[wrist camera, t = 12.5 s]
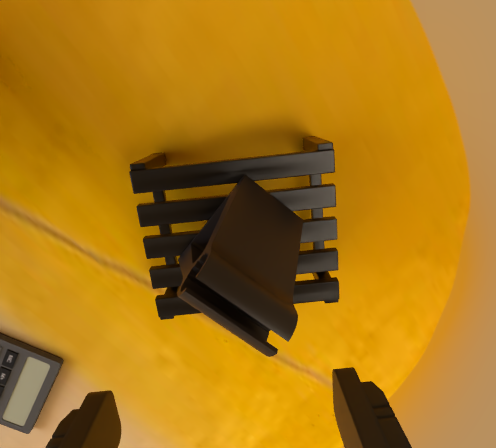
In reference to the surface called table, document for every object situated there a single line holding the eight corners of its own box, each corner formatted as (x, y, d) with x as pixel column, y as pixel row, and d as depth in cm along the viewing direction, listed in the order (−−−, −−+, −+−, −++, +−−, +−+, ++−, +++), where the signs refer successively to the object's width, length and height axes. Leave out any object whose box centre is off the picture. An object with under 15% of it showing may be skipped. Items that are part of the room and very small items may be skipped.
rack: (175, 282, 40) (159, 322, 32) (152, 153, 36) (127, 165, 28) (321, 267, 39) (339, 304, 32) (314, 136, 35) (334, 142, 28)
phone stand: (245, 173, 28) (247, 214, 17) (303, 219, 29) (341, 287, 18) (178, 257, 30) (138, 345, 19) (234, 296, 31) (230, 403, 20)
